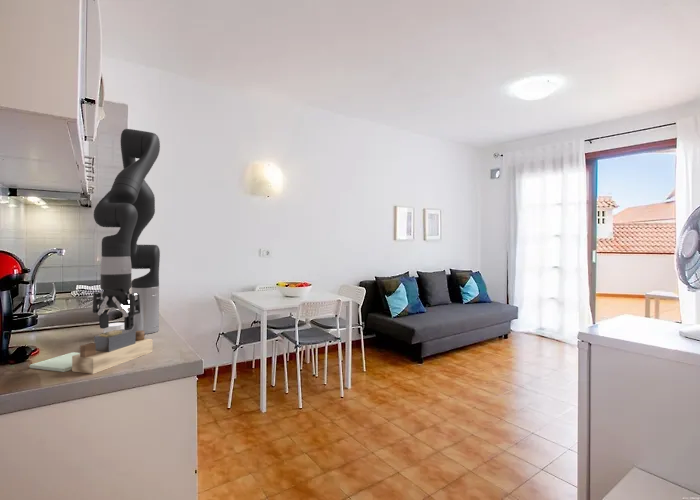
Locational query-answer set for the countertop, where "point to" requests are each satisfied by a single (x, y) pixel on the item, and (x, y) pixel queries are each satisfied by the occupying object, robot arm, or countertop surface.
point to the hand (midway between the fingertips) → (116, 328)
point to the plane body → (109, 355)
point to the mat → (56, 363)
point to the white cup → (114, 327)
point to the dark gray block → (115, 340)
